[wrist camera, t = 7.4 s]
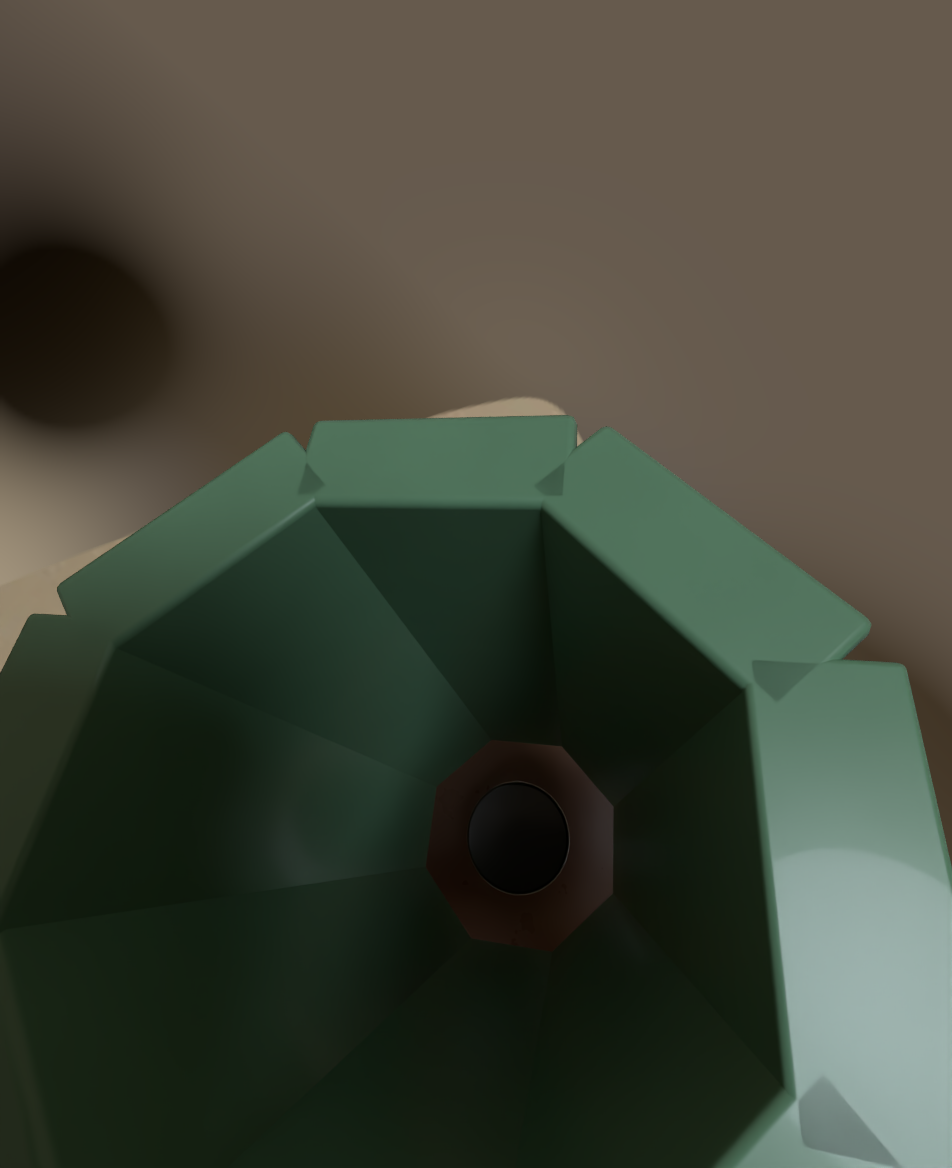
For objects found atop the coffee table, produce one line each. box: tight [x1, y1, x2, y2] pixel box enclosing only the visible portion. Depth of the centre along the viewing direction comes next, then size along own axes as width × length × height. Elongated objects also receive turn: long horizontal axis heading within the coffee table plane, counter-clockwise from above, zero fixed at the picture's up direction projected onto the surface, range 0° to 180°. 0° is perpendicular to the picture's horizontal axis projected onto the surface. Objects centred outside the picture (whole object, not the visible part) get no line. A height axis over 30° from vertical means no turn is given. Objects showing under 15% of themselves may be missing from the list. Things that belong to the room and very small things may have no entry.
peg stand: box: [426, 740, 614, 952], centre depth 15 cm, size 7×7×6 cm
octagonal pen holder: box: [0, 415, 952, 1168], centre depth 8 cm, size 6×6×11 cm
